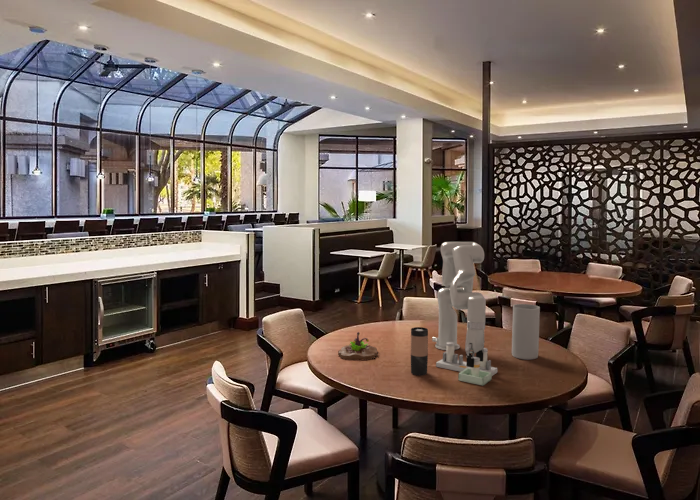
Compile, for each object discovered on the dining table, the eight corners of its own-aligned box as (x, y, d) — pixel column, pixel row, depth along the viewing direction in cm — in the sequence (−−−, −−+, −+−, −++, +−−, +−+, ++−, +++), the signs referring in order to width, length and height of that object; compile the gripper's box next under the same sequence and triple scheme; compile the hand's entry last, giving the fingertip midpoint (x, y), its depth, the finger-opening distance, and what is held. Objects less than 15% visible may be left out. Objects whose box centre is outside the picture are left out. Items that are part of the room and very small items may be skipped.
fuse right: (477, 368, 237) (477, 349, 236) (480, 366, 240) (481, 347, 239) (485, 370, 235) (485, 350, 234) (488, 368, 238) (488, 348, 237)
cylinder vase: (539, 360, 255) (541, 309, 252) (512, 359, 257) (514, 308, 255) (536, 353, 267) (537, 304, 265) (510, 352, 269) (511, 303, 267)
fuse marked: (469, 378, 228) (469, 358, 227) (472, 376, 231) (473, 356, 230) (477, 380, 225) (477, 359, 225) (480, 378, 228) (481, 357, 227)
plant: (379, 350, 275) (379, 328, 274) (376, 361, 256) (376, 338, 255) (341, 348, 278) (341, 327, 277) (335, 359, 258) (335, 337, 257)
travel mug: (430, 371, 239) (430, 328, 237) (423, 376, 232) (424, 332, 230) (414, 369, 243) (415, 326, 241) (407, 373, 236) (408, 329, 234)
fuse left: (444, 362, 246) (445, 343, 245) (448, 360, 249) (448, 341, 248) (452, 363, 244) (452, 344, 243) (455, 361, 247) (455, 342, 246)
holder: (435, 366, 246) (436, 354, 246) (444, 361, 253) (444, 349, 253) (489, 377, 231) (489, 364, 230) (497, 372, 238) (497, 359, 237)
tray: (458, 380, 228) (458, 373, 227) (467, 374, 235) (467, 368, 235) (483, 385, 221) (483, 378, 221) (491, 379, 228) (491, 372, 228)
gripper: (475, 319, 235) (474, 357, 237) (459, 327, 221) (458, 367, 223) (492, 322, 231) (490, 360, 233) (476, 330, 217) (475, 371, 219)
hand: (474, 363), depth 228 cm, fingers open, 9 cm apart
